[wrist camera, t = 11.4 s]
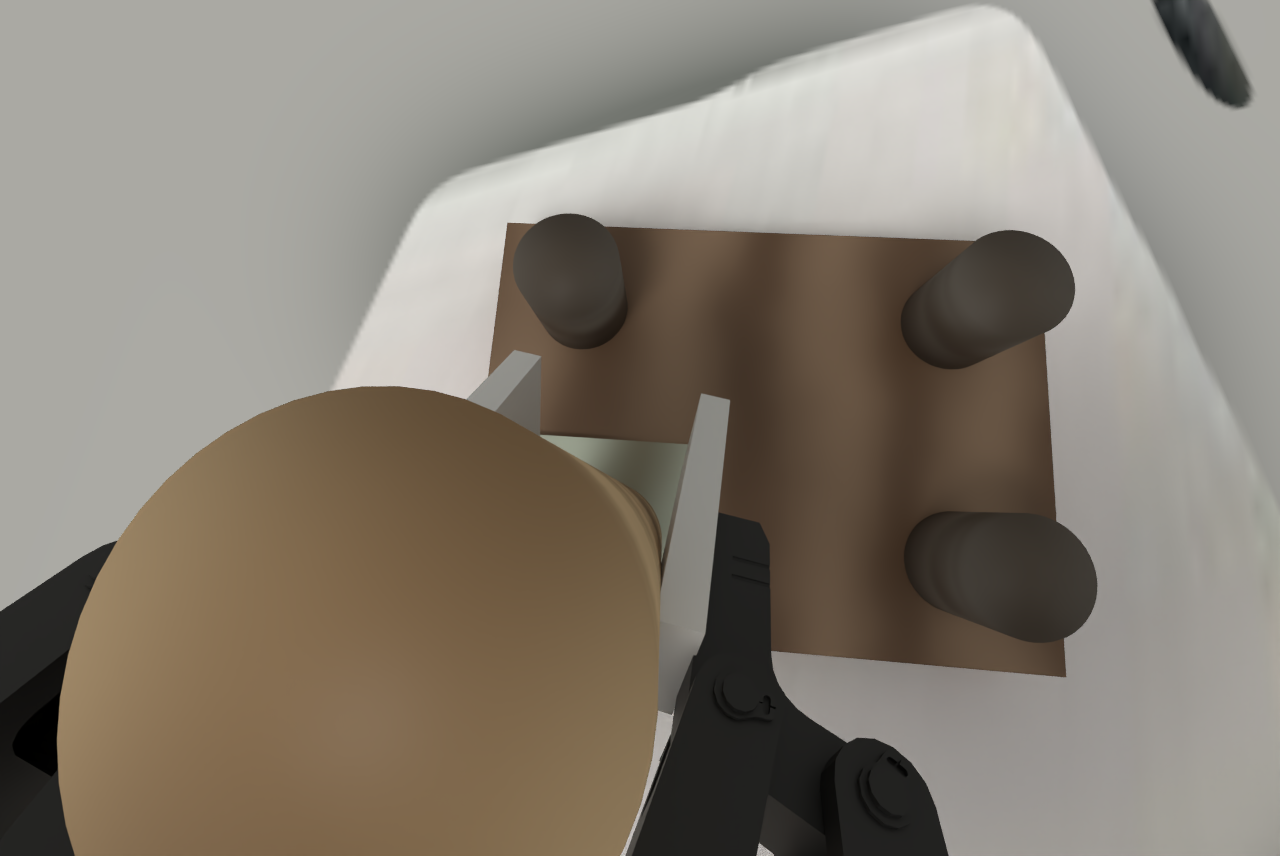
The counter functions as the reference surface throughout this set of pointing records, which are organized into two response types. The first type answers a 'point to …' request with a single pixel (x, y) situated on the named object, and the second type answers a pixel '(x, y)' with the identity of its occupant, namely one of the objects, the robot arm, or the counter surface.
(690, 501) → the robot arm
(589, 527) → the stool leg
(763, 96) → the counter surface
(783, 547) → the wooden board with knobs
